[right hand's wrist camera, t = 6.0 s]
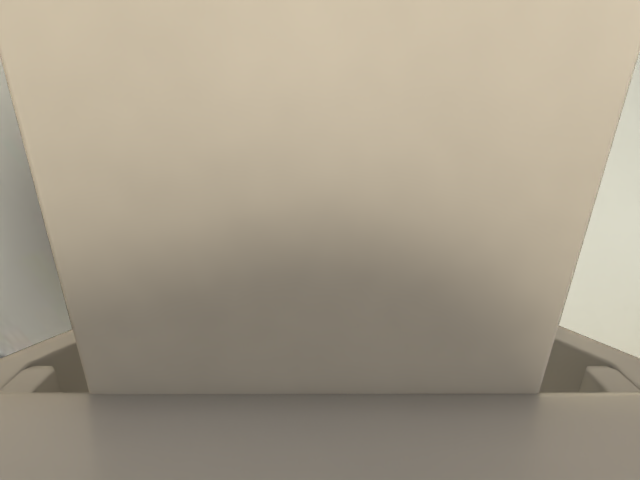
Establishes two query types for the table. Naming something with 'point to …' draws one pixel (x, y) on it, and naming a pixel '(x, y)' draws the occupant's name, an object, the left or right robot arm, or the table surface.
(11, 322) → the table surface
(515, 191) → the box
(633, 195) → the table surface
